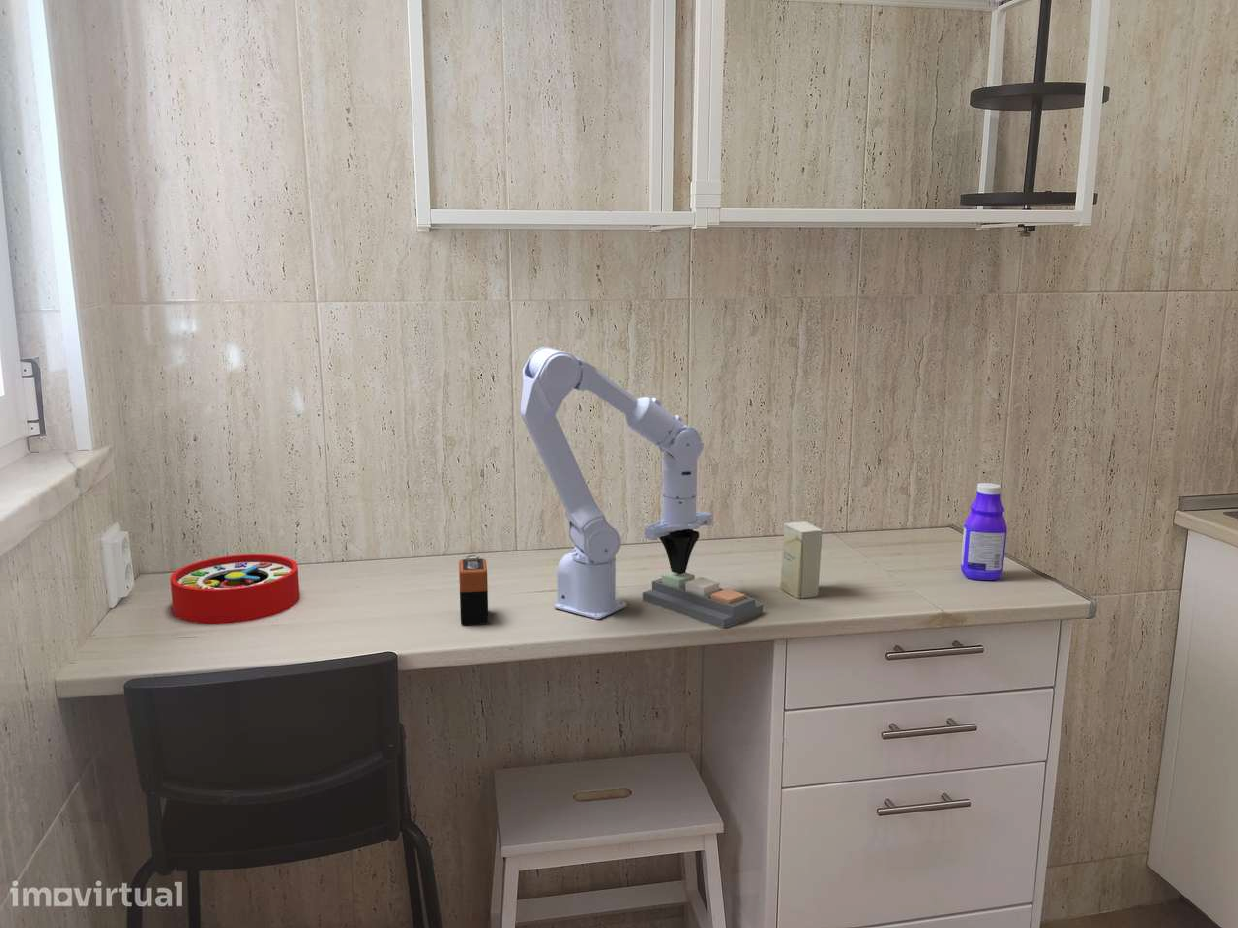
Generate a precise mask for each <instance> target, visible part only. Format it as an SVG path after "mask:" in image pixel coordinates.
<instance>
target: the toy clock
mask: <svg viewBox="0 0 1238 928" xmlns="http://www.w3.org/2000/svg"><path fill="white" fill-rule="evenodd" d="M298 567H299V566H298V563H297V561H295V560H293V559H292V558H290V557H286V556H282V555H277V554H267V553H265V554H264V553H245V554H244V553H241V554H232V555H224V556H217V557H211V558H208V559H204V560H200V561H196V562H192V563H189V564H187V565H185V566H183V567H180V568H179V569H177V570H176V571H174V572H173V573H172V574H171V576H170V589H171V599H172V600H171V601H172V612H173V614H174V616H175V617H177V618H178V619H179V620H183V621H186V622H189V623H193V624H194V623H195V624H203V625H229V624H239V623H245V622H252V621H257V620H261V619H265V618H268V617H272V616H275V615H278V614H281V613H284V612H285V611H288V610H289V609H291V608H292V607H294V606H295V605H297V603H298V602H299V601H300V583H299V572H298V569H299V568H298Z"/></svg>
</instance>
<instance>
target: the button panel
mask: <svg viewBox="0 0 1238 928" xmlns="http://www.w3.org/2000/svg"><path fill="white" fill-rule="evenodd" d="M724 589H725V588H721V587H719V591H721V590H724ZM715 593H716V592H715ZM712 594H713V593H712ZM642 601H643V602H646V603H649V604H652V605H655V606H657V607H660V608H663V609H665V610H669V611H672V612H675V613H678V614H681V615H684V616H686V617H689V618H692V619H695V620H698V621H700V622H703V623H706V624H710V625H713V626H715V627H719V628H721V629H727V628H728V627H731V626H734V625H737V624H739V623H742V622H744V621H747V620H750V619H753V618H754V617H757V616H760V615H762V614H764V604H762V603H759V602H756V598H753V597H750V596H746V595H745V599H744V600H741V601H739V602H736V603H733V604H730V605H729V604H725V603H722V602H719V601H716V600H713V599H710V594H709V595H707V596H701V595H697V594H694V593H691V592H688V591H685V587H682V588H676V587H672V586H669V585H666V584H663V583H662V577H660V578H658V579H654V580H651V589H649V590H646V591H643V592H642Z"/></svg>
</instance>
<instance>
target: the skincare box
mask: <svg viewBox="0 0 1238 928" xmlns="http://www.w3.org/2000/svg"><path fill="white" fill-rule="evenodd" d="M783 524H784V525H783V540H782V541H783V542H782V544H783V545H782V557H781V558H782V559H781V575H780V589H781V590H783V591H784V592H786V593H788V594H789V595H791V597H794V598H795V599H797V600H798V599H805V598H806V599H807V598H815V597H818V596H819V589H820V588H819V586H820V585H819V584H820V573H821V572H820V571H821V559H822V549H823V548H822V547H823V546H822V545H823V534H824V533H823V531H824V529H822V528H821V527H819V526H816V525H814V524H812V523H810V522H808V521H806V520H802V521H789V522H788V521H787V522H784V523H783Z"/></svg>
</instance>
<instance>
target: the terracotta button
mask: <svg viewBox="0 0 1238 928" xmlns="http://www.w3.org/2000/svg"><path fill="white" fill-rule="evenodd" d="M723 589H724V590H721V591H718V592H716V593H713V594H710V599H713V600H716V601H719V602H722V603H725V604H729V605H730V604H733V603H736V602H739V601H741V600H744V599H745V596H746V594H744V593H741V592H738V591H735V590H731V589H728V588H723Z"/></svg>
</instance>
